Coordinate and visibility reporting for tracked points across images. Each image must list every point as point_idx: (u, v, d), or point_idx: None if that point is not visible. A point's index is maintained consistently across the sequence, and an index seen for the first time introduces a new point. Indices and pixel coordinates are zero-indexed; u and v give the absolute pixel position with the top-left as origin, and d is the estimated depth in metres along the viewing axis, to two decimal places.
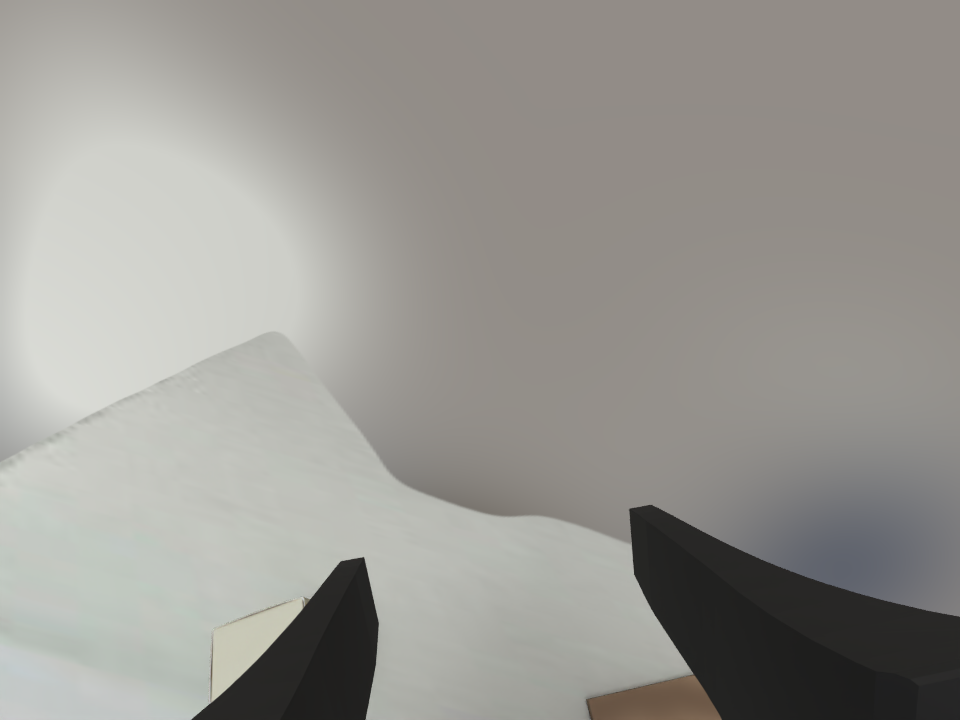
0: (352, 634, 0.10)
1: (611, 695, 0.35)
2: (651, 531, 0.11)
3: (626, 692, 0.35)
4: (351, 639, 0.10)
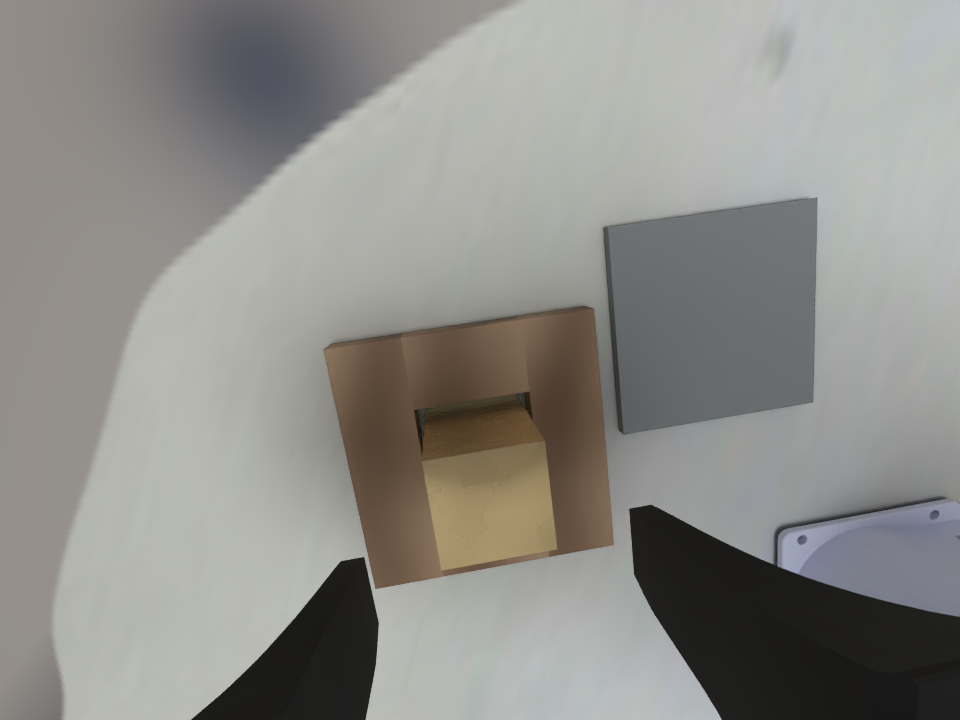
0: (352, 634, 0.10)
1: (369, 552, 0.20)
2: (651, 531, 0.11)
3: (364, 527, 0.19)
4: (351, 638, 0.10)
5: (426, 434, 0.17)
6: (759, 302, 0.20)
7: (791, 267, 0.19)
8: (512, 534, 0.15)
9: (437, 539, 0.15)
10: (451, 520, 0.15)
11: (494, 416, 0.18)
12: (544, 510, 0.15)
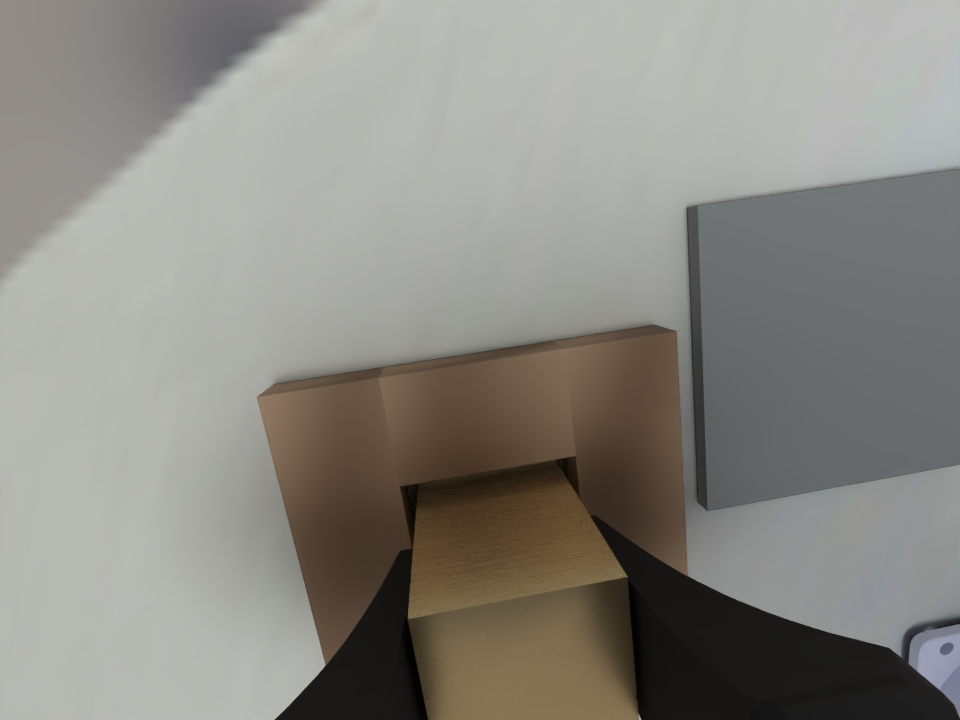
0: None
1: None
2: None
3: (327, 657, 0.13)
4: None
5: (418, 540, 0.10)
6: (912, 319, 0.13)
7: None
8: None
9: None
10: (460, 712, 0.08)
11: (526, 502, 0.11)
12: (621, 690, 0.09)
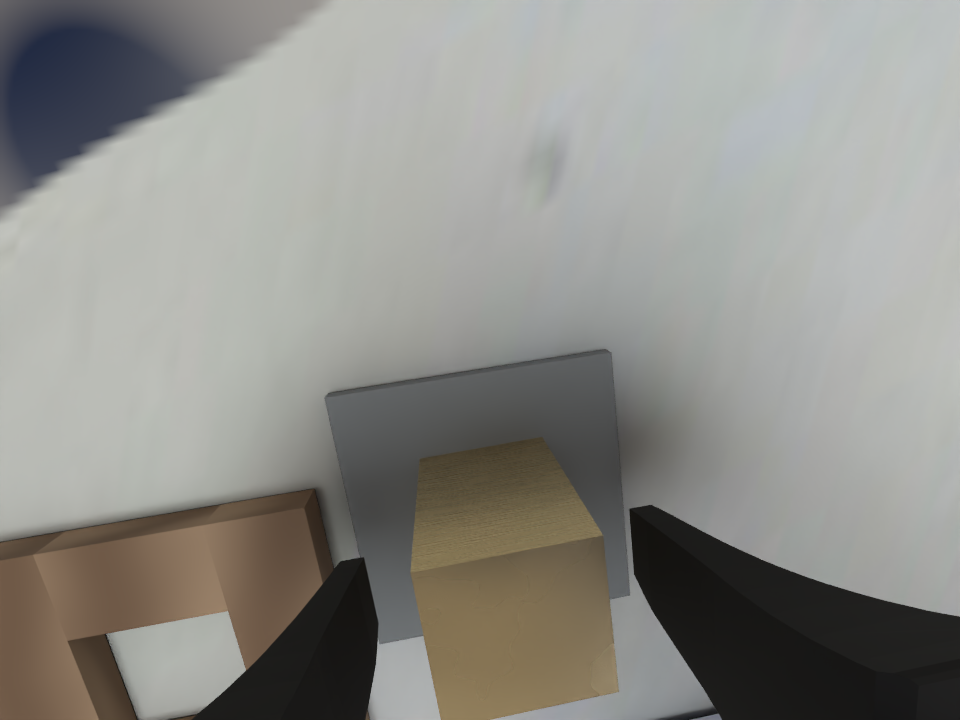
0: (352, 634, 0.10)
1: None
2: (651, 531, 0.11)
3: None
4: (351, 638, 0.10)
5: (419, 511, 0.11)
6: None
7: (584, 438, 0.15)
8: (551, 673, 0.10)
9: (436, 685, 0.10)
10: (457, 657, 0.10)
11: (517, 478, 0.12)
12: (600, 637, 0.10)
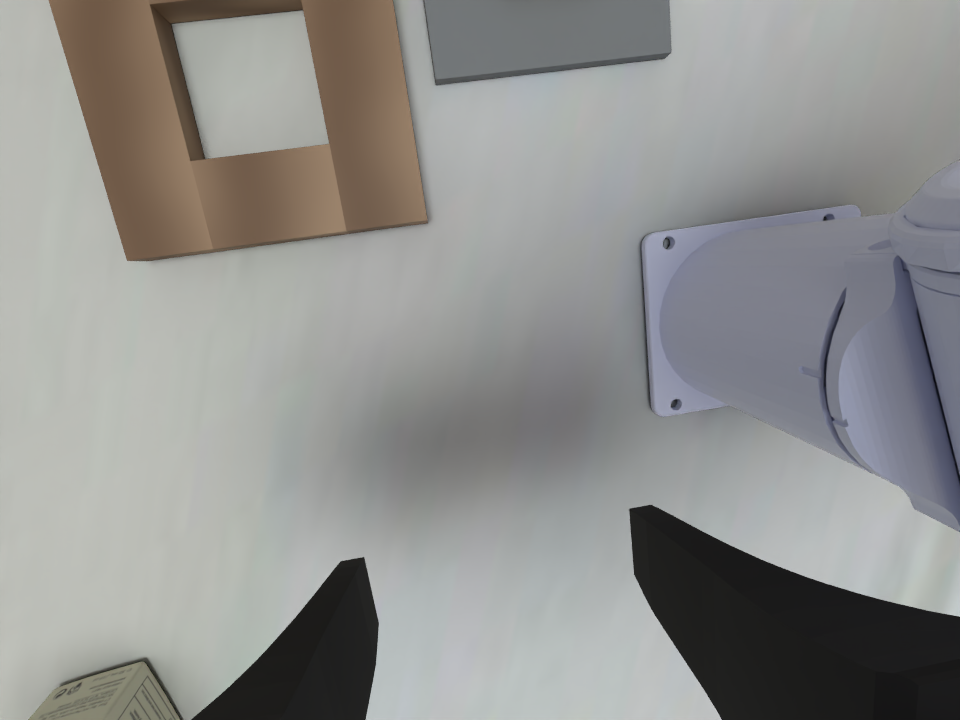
0: (352, 634, 0.10)
1: (113, 207, 0.16)
2: (651, 531, 0.11)
3: (103, 171, 0.16)
4: (351, 638, 0.10)
5: None
6: None
7: None
8: None
9: None
10: None
11: None
12: None
